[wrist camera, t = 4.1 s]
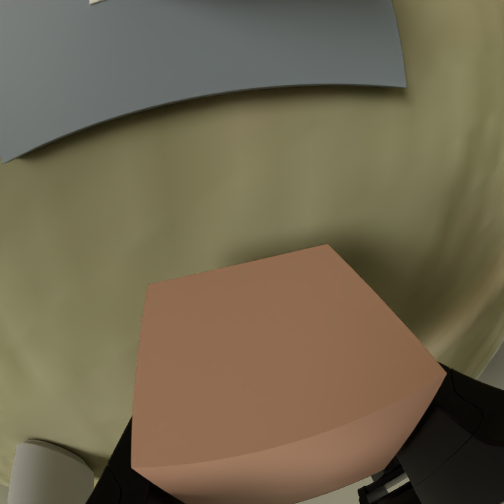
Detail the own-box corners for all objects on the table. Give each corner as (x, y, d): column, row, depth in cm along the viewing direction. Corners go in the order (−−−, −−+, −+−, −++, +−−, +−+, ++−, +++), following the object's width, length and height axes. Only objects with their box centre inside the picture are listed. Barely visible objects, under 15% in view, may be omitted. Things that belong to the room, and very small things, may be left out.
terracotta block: (327, 243, 8) (447, 373, 4) (325, 361, 10) (383, 469, 6) (147, 284, 7) (130, 467, 3) (196, 394, 10) (215, 519, 5)
